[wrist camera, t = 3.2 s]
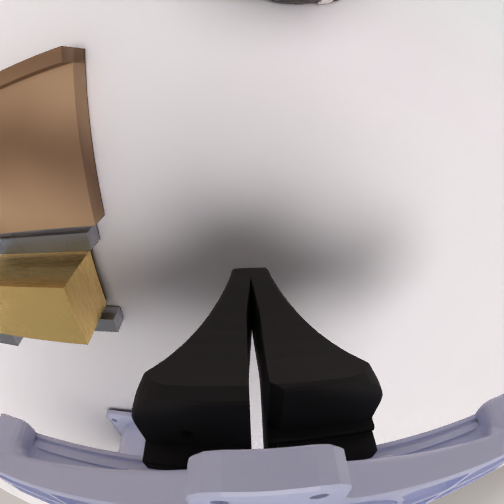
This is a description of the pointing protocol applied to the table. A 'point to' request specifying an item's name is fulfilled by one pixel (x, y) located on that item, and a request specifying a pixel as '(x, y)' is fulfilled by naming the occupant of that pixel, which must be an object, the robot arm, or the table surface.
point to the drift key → (50, 296)
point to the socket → (58, 242)
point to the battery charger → (305, 1)
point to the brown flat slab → (47, 145)
